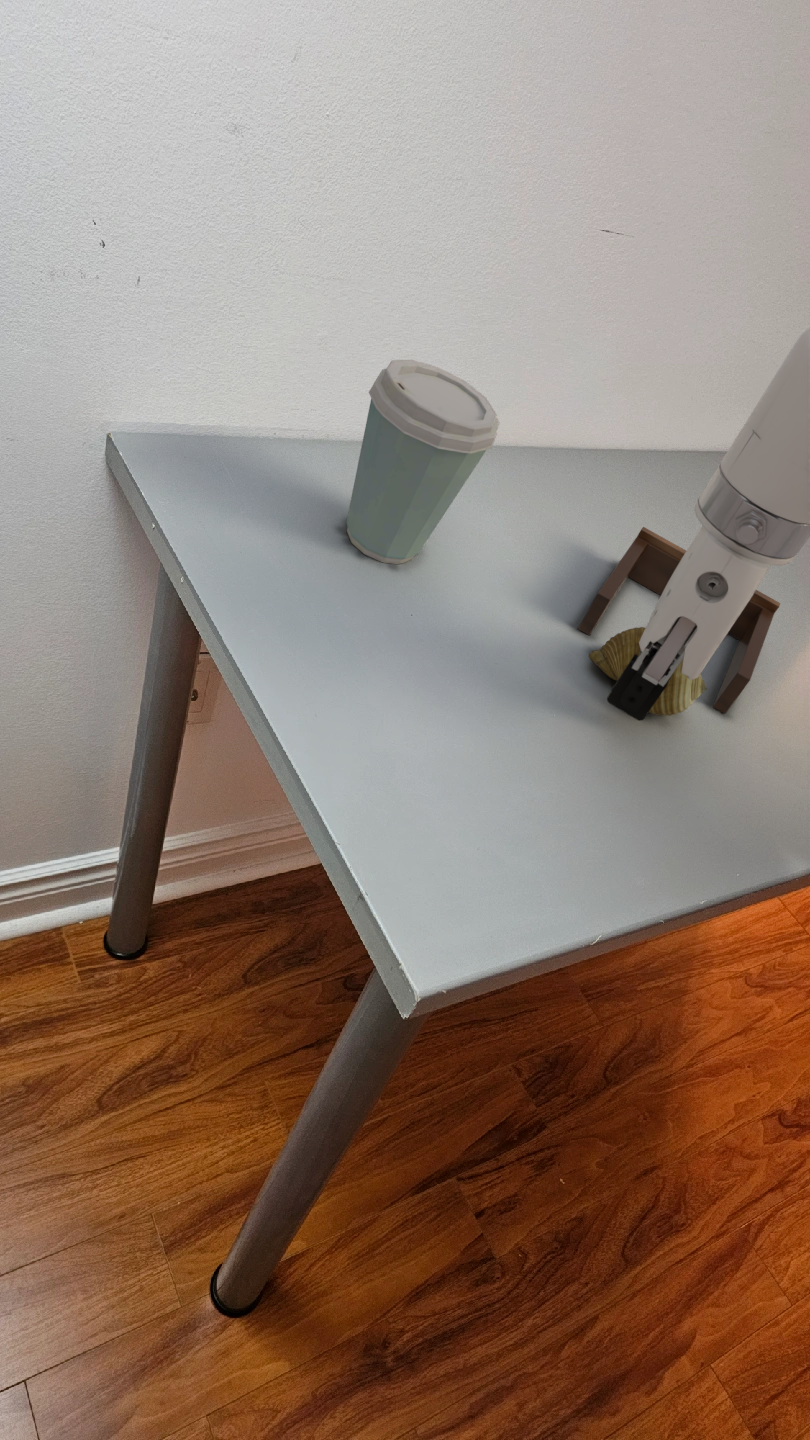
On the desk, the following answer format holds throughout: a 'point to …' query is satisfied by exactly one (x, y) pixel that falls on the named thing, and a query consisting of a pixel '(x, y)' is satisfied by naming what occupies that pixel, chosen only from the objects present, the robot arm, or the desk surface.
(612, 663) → the seashell
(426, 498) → the disposable coffee cup
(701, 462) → the desk surface
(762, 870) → the desk surface
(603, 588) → the frame
